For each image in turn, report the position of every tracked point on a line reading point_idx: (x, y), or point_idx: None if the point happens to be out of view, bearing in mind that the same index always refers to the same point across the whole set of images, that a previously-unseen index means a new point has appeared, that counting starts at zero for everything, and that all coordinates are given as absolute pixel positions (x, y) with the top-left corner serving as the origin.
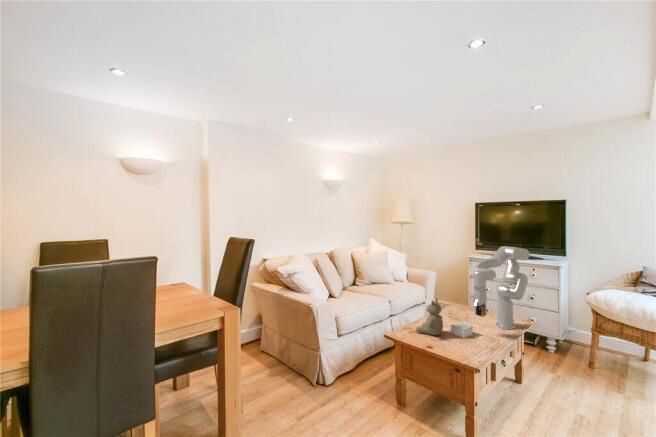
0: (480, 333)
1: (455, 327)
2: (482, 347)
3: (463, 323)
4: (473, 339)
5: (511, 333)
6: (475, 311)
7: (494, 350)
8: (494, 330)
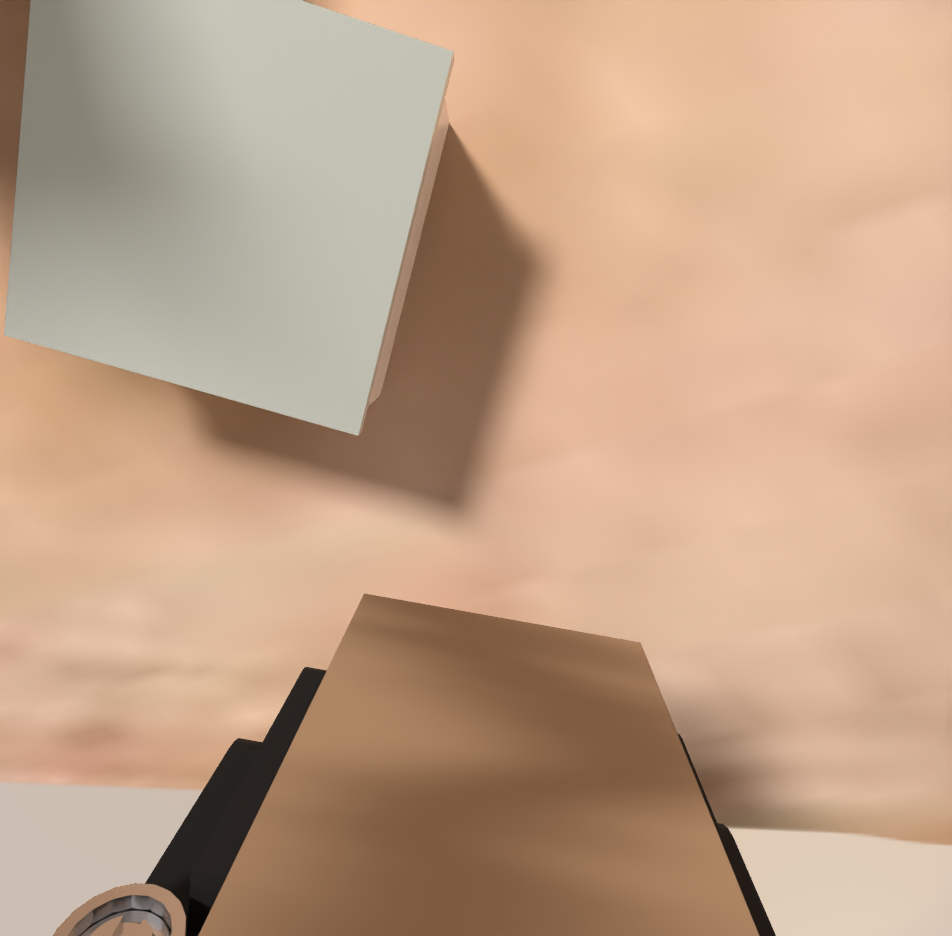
0: (529, 477)
1: (33, 107)
2: (29, 645)
3: (403, 180)
4: (198, 469)
5: (817, 798)
6: (326, 680)
7: (69, 770)
8: (806, 605)
